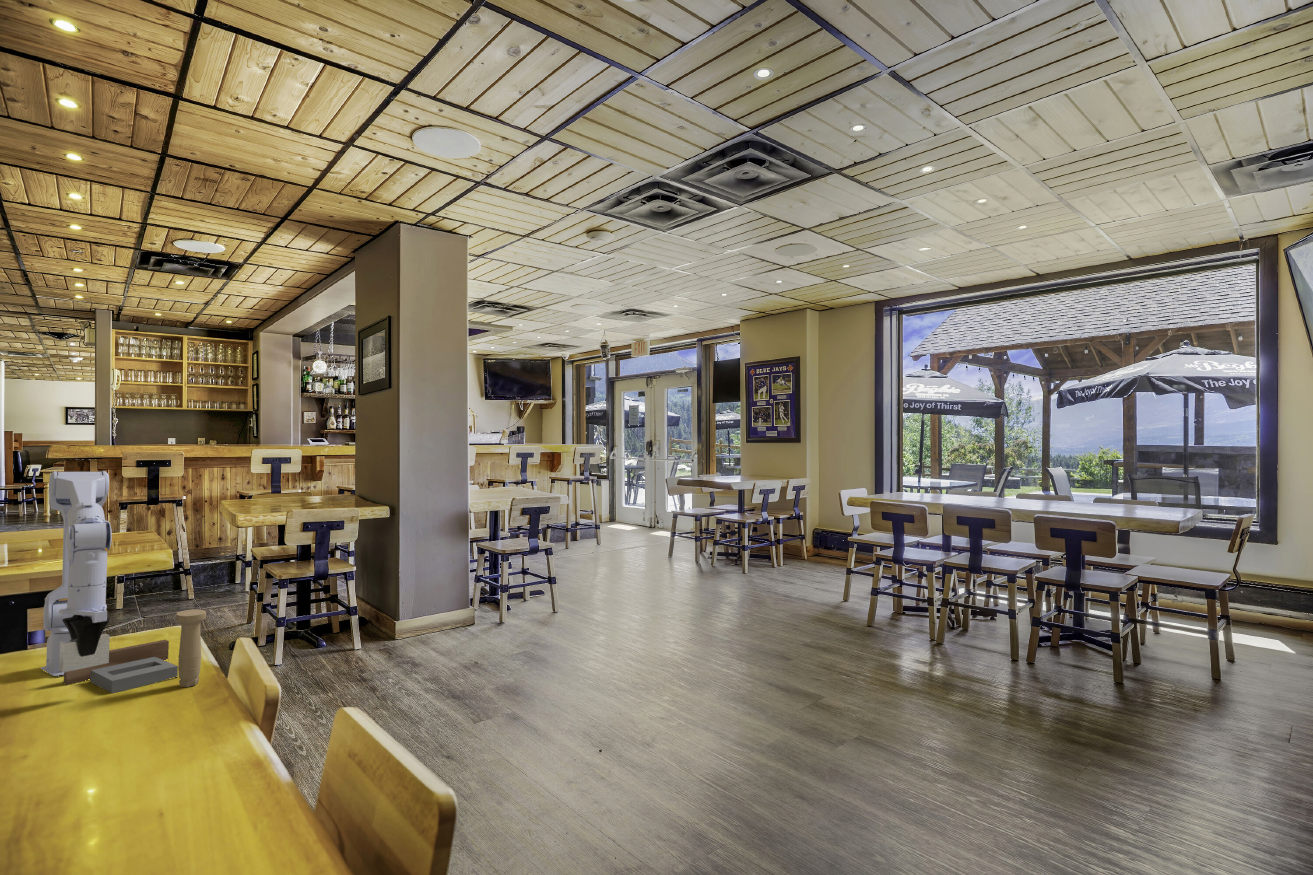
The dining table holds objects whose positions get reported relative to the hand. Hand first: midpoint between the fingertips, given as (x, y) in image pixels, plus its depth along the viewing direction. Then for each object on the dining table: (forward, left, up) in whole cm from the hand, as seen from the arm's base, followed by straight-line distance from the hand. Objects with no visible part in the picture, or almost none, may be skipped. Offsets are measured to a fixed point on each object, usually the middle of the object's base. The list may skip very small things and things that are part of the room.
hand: (84, 653), depth 129 cm
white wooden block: (0, 0, -2) cm, 2 cm away
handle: (+8, +15, -9) cm, 19 cm away
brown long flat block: (-13, +10, -9) cm, 19 cm away
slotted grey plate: (-5, +10, -9) cm, 14 cm away
